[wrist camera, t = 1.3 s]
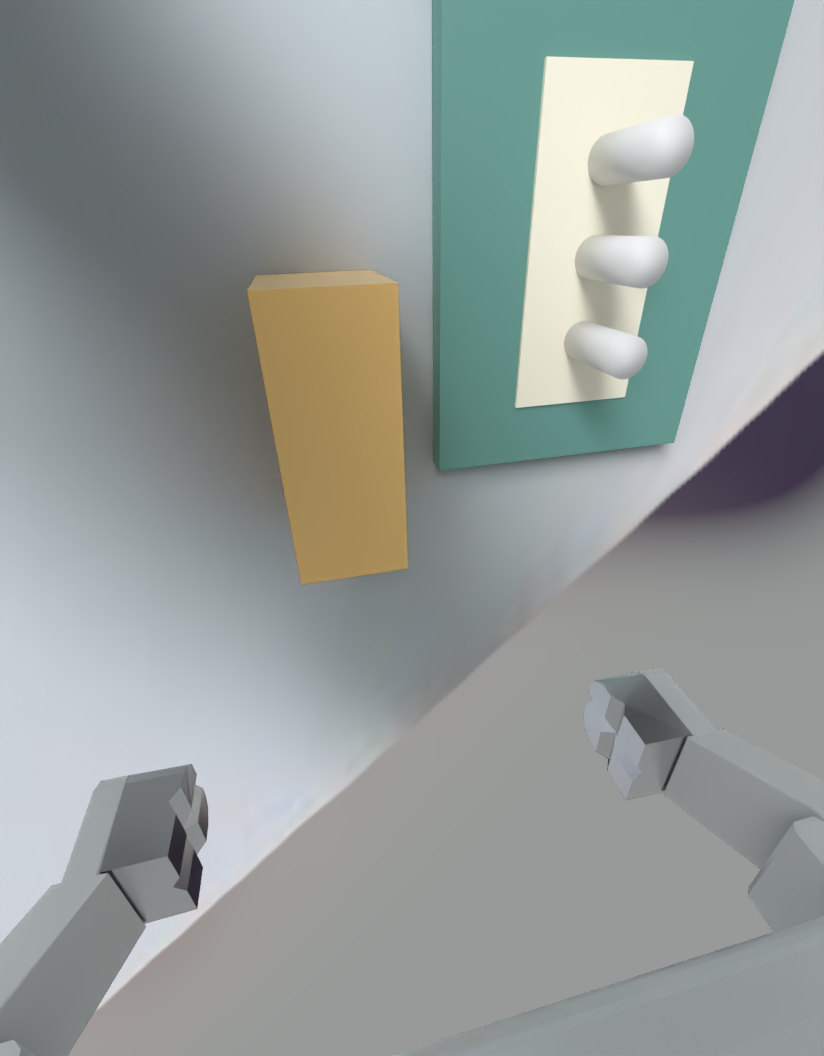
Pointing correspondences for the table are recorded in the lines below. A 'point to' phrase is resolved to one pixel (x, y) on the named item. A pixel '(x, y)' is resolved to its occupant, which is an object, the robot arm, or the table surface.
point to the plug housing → (336, 416)
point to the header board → (583, 212)
